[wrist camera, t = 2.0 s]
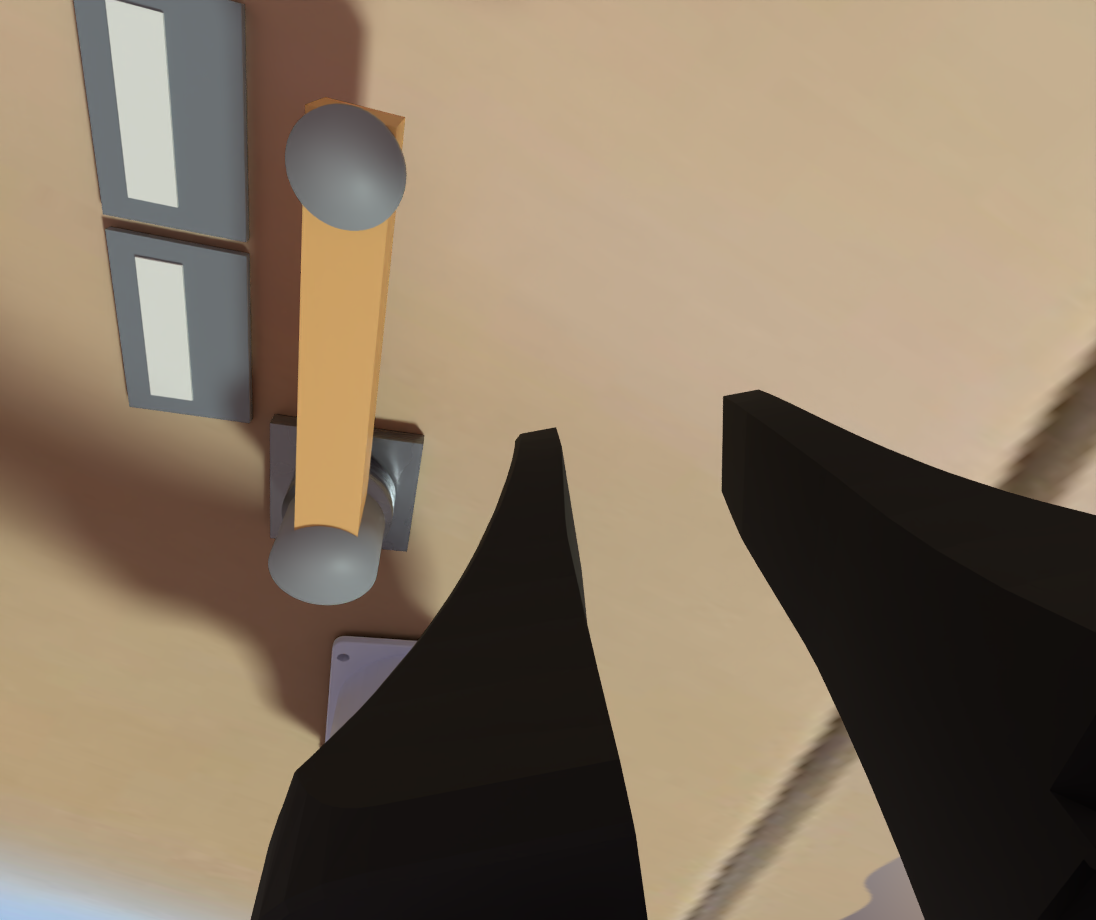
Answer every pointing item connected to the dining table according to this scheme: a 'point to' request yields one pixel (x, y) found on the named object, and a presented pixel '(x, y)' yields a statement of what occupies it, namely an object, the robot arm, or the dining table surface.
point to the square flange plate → (386, 484)
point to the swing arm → (339, 345)
